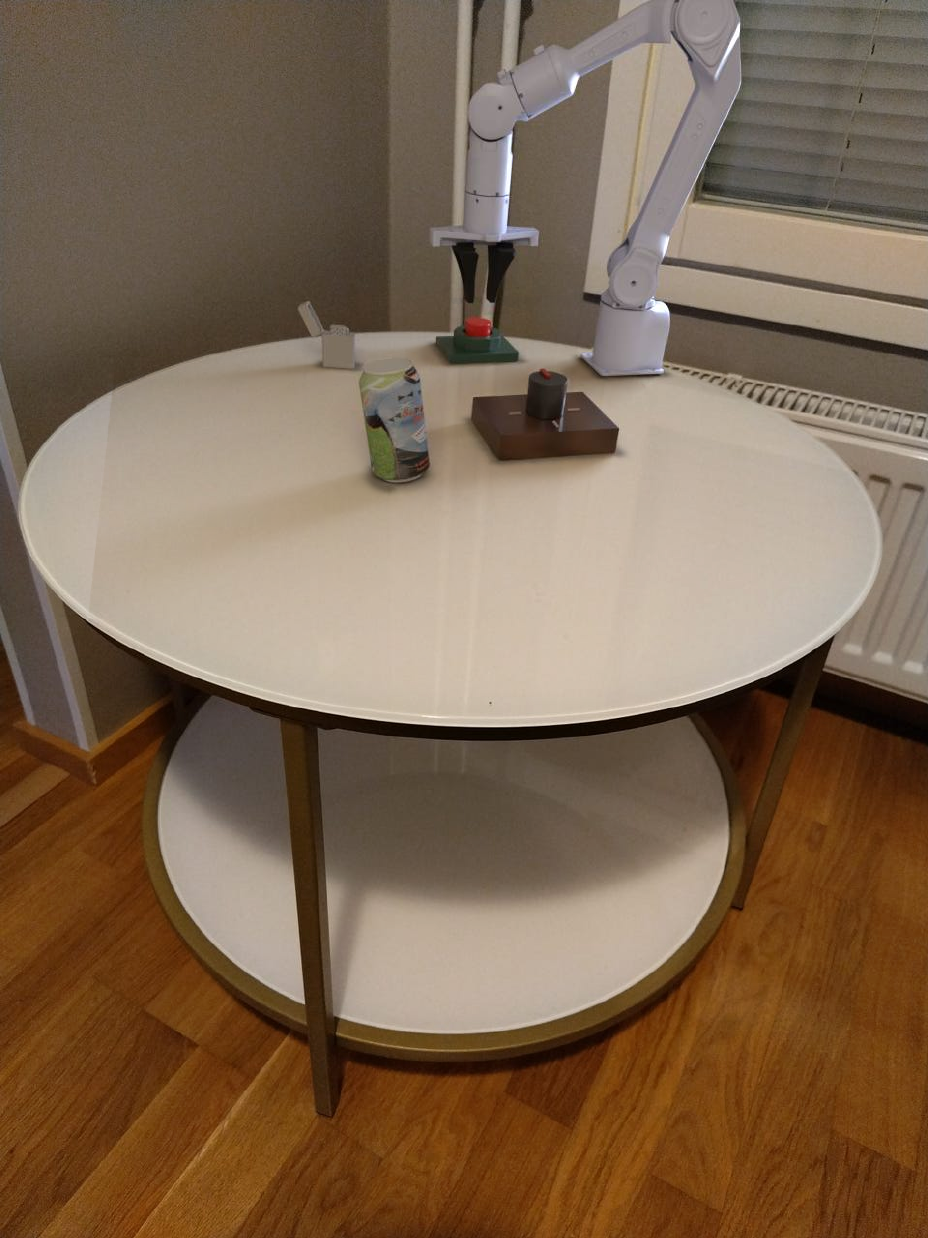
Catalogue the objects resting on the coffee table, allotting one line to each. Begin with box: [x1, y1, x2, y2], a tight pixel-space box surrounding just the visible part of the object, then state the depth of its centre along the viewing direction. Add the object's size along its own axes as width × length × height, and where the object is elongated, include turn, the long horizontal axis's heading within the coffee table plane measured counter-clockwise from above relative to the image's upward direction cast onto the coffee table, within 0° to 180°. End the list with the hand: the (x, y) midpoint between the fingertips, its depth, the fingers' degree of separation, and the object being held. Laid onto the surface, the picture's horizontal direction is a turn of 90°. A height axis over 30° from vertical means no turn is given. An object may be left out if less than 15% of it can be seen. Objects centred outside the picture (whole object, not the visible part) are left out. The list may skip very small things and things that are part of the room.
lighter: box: [297, 300, 356, 370], centre depth 113 cm, size 7×2×8 cm, turn 87°
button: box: [464, 317, 492, 337], centre depth 121 cm, size 4×4×2 cm
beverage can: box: [358, 357, 431, 484], centre depth 87 cm, size 6×7×12 cm
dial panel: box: [470, 391, 620, 462], centre depth 100 cm, size 14×11×3 cm
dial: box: [525, 368, 569, 419], centre depth 98 cm, size 4×4×4 cm
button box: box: [435, 324, 520, 365], centre depth 122 cm, size 10×8×3 cm
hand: (479, 300), depth 118 cm, fingers closed
